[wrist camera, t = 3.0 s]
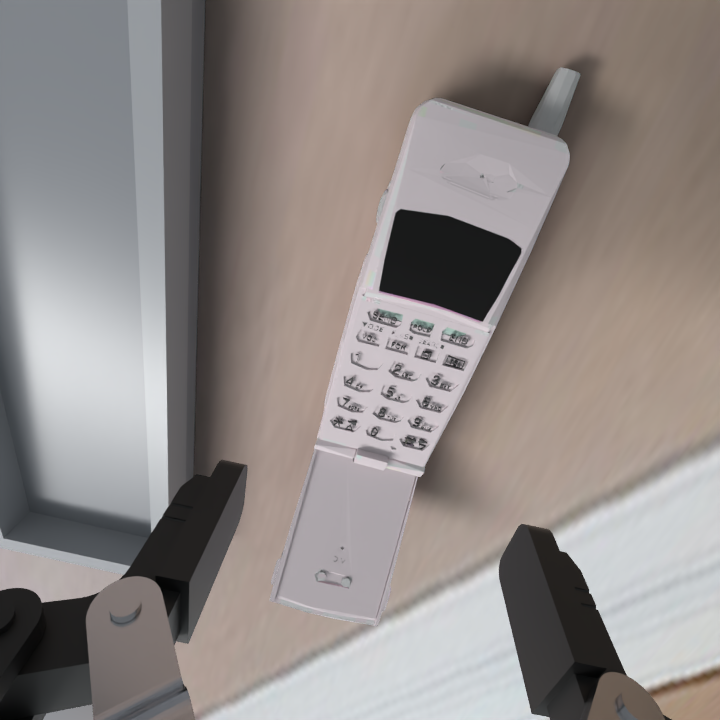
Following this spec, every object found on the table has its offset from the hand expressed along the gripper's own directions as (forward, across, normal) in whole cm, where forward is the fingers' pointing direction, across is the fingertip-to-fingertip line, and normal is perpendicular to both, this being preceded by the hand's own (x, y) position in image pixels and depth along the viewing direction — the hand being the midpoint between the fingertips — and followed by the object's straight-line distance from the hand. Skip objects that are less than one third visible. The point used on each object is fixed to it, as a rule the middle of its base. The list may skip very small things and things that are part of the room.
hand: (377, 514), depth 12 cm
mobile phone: (+10, -1, 0) cm, 10 cm away
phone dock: (+10, +15, +1) cm, 18 cm away
